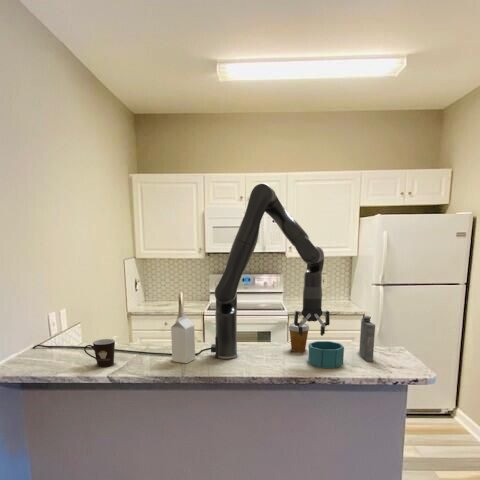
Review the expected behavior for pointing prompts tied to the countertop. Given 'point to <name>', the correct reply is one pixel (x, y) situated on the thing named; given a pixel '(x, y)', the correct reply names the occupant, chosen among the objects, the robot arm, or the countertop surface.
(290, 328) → the disposable coffee cup
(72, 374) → the countertop surface
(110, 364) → the coffee mug
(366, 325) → the flask
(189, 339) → the milk carton
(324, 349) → the teal octagonal bowl
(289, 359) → the countertop surface
